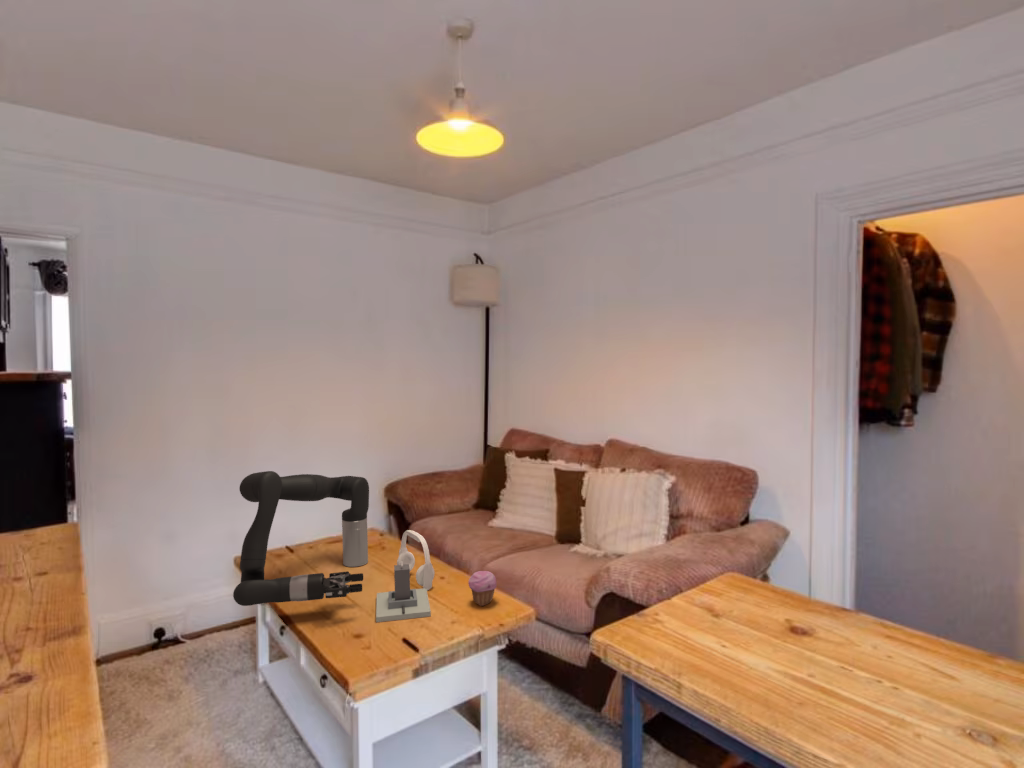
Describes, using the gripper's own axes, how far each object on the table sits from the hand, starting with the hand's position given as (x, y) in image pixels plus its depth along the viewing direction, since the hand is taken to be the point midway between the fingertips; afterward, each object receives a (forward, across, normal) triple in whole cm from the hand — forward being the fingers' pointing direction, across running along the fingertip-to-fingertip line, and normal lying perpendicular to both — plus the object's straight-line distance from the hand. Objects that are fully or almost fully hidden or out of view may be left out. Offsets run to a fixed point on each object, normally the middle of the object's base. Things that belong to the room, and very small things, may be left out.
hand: (362, 582), depth 175 cm
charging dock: (+12, 0, +9) cm, 15 cm away
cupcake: (+37, -4, +9) cm, 38 cm away
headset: (+17, +18, +9) cm, 27 cm away
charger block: (+12, 0, +8) cm, 14 cm away
